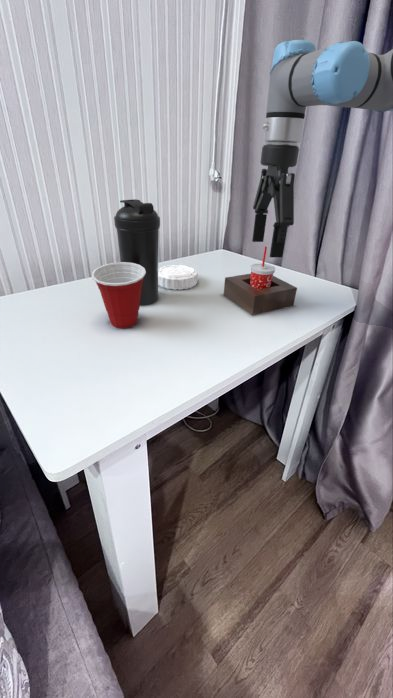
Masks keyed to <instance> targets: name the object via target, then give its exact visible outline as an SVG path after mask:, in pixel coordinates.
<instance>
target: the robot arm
mask: <svg viewBox="0 0 393 698" xmlns="http://www.w3.org/2000/svg"><path fill="white" fill-rule="evenodd" d="M267 93H268V94H267V103H266V114H265V123H263V124H262V129H263V140H262V141H263V142H265V144H263V145H262V147H261V153H260V154H261V155H260V165H261V166H264V167H265V166H266V167H267V168H262V169H261V173H260V179H259V183H258V187H257V190H256V194H255V198H254V201H253V205H252V209H253V210H254V213H255V215H254V222H253V232H252V239H251V242H253V243H263V242H264V240H265V233H266V225H267V218H268V217H267V216H268V215H267V214H269V210H268V208H269V206H270V204H271V202H272V199H273V205H274V214H275V222H274V223H273V225H272V227H273V231H272V237H271V244H270V251H269V257H270V258H283V255H284V251H285V244H286V239H287V233H288V228H289V227H291V226H293V225H294V223H295V220H294V219H295V209H294V208H295V197H294V195H295V193H294V191H295V189H294V187H295V178H296V174H295V173H294V172H289V169H290V168H294V167H296V166H297V164H298V157H299V153H300V147H299V146H298V144H300V143H301V142H302V137H303V131H304V124H305V117H306V110H307V107H314V106H330V107H340V108H350V109H360V110H369V111H374V112H377V113H385V112H393V48H392V49H391V50H389V51H388V52H386V53H384V54H378V53H373V52H368V50H366V48H365V46H364V45H363V43H362V42H360V41H357V40H351V41H346V42H343V41H340V42H336V43H334V44H331V45H330V46H327V47H324V48H320V49H316V45H315V44H314V43H313V42H312V41H310V40H304V39H292V40H289V41H288V40H285V41H282V42H280V43H279V44H278V45H277V46H276V47H275V49H274V51H273V57H272V64H271V68H270V71H269V83H268V92H267Z"/></svg>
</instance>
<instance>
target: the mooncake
mask: <svg viewBox="0 0 393 698" xmlns="http://www.w3.org/2000/svg"><path fill="white" fill-rule="evenodd" d="M198 274H199V273H198V271H197V270H196V269H195V268H193V267H190V266H187V265H185V264H170V265H167V264H166V265H163V266H161V267H158V287H161V288H163V289H167V290H175V291H176V290H179V291H182V290H188V289H190V288H194V287H195V286H197V284H198V276H199V275H198Z"/></svg>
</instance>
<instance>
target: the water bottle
mask: <svg viewBox="0 0 393 698" xmlns="http://www.w3.org/2000/svg"><path fill="white" fill-rule="evenodd" d="M119 202H120V203H123V206H122V207H121V208H120V209H118V210H117V211H116V214H115V215H114V217H113V220H114V221H113V222H114V227H115V229H116V235H117V243H118V251H119V252H118V253H119V260H120V261H119V262H128V263H135V264H138V265H141V266H142V267H144V268H145V271H146V274H145V276H144V278H143V283H142V289H141V298H140V306H147V305H148V306H149V305H152V304H154V303H156V302H158V300H159V285H158V268H159V242H160V241H159V236H160V234H159V233H160V232H159V230H160V227H161V217H160V216H159V215H158V212H157V211H156V210H155V207H154V204H153V203H151V202H142V201H141V200H140V199H134V198H133V199H122V200H119Z"/></svg>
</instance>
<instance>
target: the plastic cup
mask: <svg viewBox="0 0 393 698" xmlns="http://www.w3.org/2000/svg"><path fill="white" fill-rule="evenodd" d="M145 274H146V271H145V268H144V267H142V266H141V265H138V264H135V263H128V262H120V261H119V262H111V263H107V264H103V265H101V266H98V267H97V268H95V269H94V270H93V271H92V272H91V278H92V280H94V282H95V283H96V285H97V287H98V288H97V289H98V290H99V292H100V295H101V299H102V302H103V305H104V309H105V311H106V313H107V316H108V319H109V322H110V324H111V326H112V327H115V328H117V329H129V328H132V327H134V326H135V325H137V323H138V320H139V310H140V306H141V305H140V298H141V289H142V283H143V278H144V276H145Z"/></svg>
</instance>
